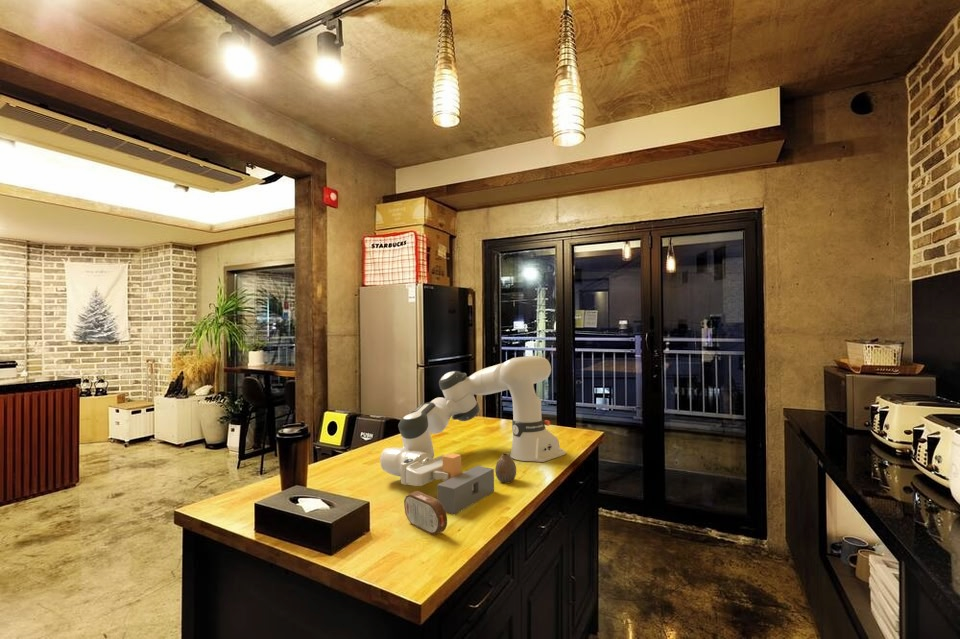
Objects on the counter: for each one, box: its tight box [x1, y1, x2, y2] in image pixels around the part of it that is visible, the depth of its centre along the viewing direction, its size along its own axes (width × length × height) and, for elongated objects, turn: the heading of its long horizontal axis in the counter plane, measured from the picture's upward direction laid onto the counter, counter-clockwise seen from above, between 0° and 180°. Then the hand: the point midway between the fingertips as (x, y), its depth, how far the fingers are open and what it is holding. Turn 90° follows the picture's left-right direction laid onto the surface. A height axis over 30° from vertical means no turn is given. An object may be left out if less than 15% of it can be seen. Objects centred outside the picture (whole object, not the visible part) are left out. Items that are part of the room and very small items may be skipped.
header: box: [436, 465, 495, 515], centre depth 132 cm, size 6×20×7 cm, turn 145°
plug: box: [441, 452, 474, 491], centre depth 134 cm, size 9×4×12 cm, turn 55°
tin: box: [403, 490, 448, 536], centre depth 114 cm, size 15×3×8 cm, turn 45°
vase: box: [494, 452, 517, 484], centre depth 148 cm, size 7×7×9 cm
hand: (454, 473), depth 135 cm, fingers closed on plug, 4 cm apart
